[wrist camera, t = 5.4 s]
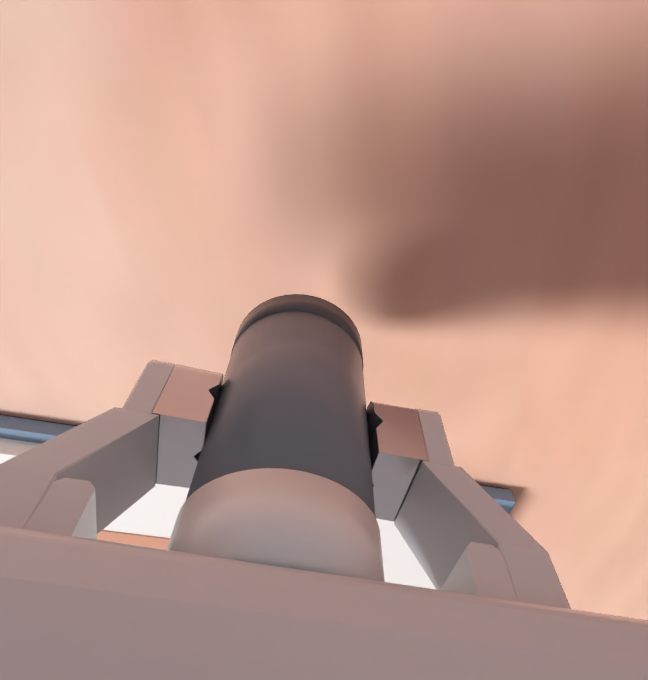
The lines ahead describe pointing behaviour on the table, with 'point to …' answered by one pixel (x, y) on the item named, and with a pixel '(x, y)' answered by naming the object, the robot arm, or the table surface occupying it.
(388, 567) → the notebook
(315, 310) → the white-topped grey cylinder
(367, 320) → the table surface
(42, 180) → the table surface
